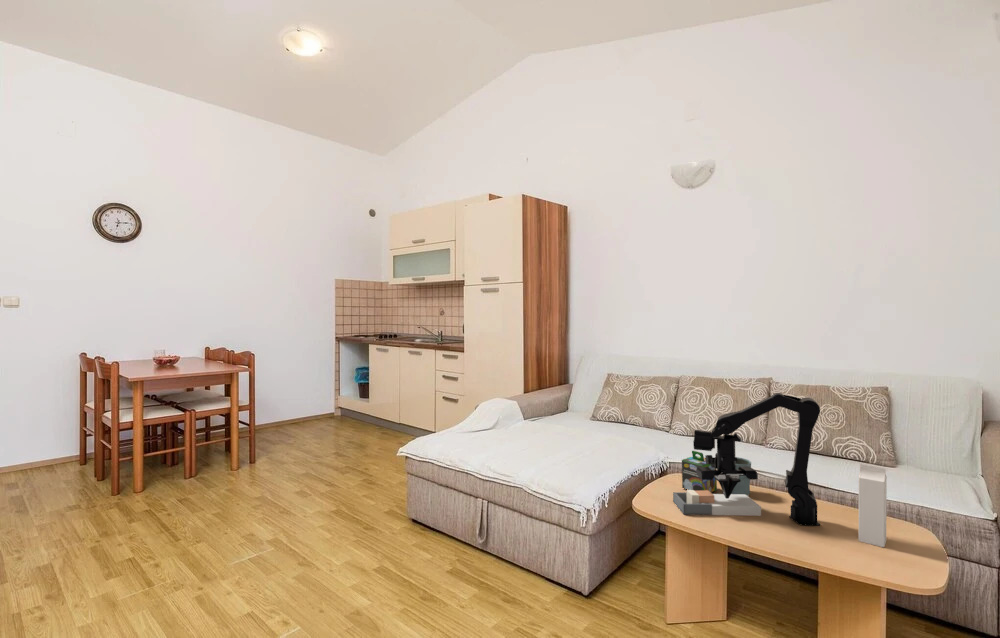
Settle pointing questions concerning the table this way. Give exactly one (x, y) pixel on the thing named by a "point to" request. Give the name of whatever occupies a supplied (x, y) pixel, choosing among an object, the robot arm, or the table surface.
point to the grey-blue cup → (742, 478)
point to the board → (734, 505)
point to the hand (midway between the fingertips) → (726, 498)
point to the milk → (872, 505)
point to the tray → (690, 505)
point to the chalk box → (690, 477)
